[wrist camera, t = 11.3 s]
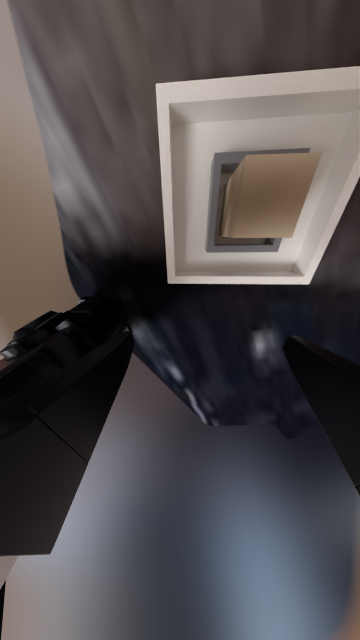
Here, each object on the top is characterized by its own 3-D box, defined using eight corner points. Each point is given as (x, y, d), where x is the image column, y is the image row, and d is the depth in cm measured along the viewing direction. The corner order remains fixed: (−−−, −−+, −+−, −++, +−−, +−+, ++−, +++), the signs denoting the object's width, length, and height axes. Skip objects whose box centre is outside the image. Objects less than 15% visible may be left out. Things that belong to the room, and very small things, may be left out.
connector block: (257, 235, 15) (291, 237, 10) (218, 235, 15) (232, 237, 10) (270, 183, 13) (322, 152, 8) (224, 184, 13) (246, 155, 8)
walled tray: (291, 276, 18) (309, 284, 15) (171, 276, 19) (167, 283, 16) (361, 101, 11) (413, 61, 8) (163, 115, 12) (155, 83, 9)
